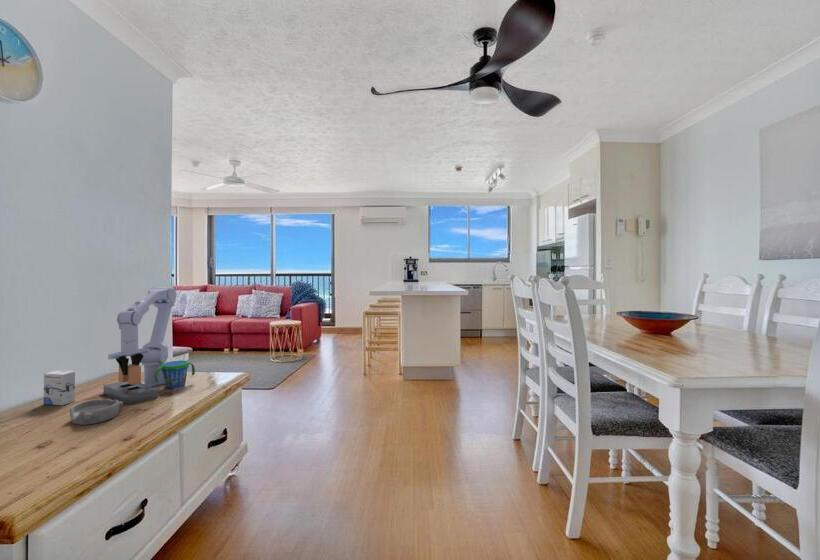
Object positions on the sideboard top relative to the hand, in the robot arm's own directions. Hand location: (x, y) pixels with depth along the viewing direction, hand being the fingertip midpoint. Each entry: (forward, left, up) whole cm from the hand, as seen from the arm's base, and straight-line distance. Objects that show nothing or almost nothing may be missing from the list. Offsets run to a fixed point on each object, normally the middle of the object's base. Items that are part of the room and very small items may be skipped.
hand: (129, 373), depth 160 cm
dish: (+17, +18, -9) cm, 26 cm away
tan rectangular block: (0, 0, -3) cm, 4 cm away
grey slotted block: (0, 0, -9) cm, 9 cm away
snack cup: (-17, +1, -9) cm, 19 cm away
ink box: (+19, -12, -9) cm, 24 cm away
